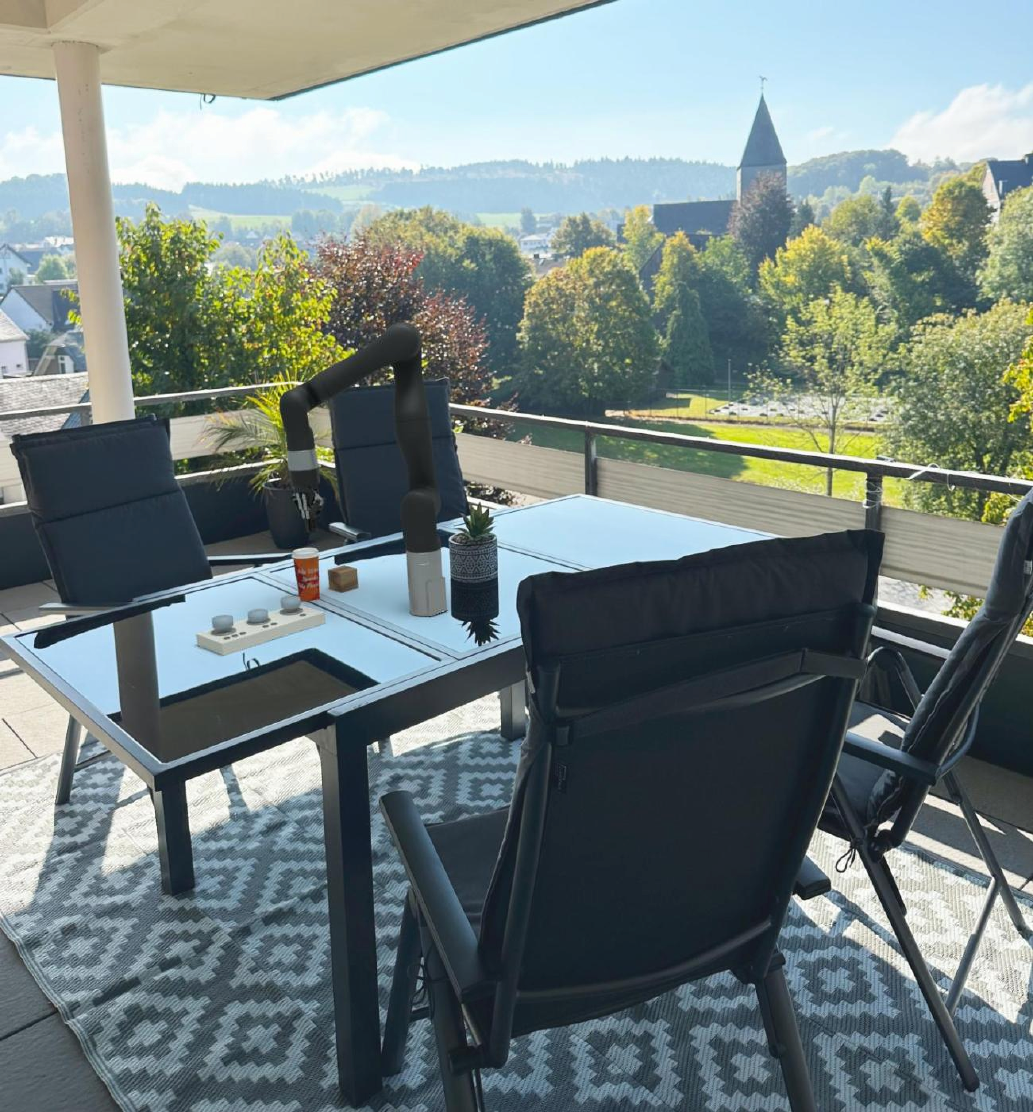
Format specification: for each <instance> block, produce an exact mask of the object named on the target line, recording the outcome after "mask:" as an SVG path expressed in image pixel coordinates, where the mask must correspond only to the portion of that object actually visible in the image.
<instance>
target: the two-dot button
mask: <svg viewBox="0 0 1033 1112" xmlns="http://www.w3.org/2000/svg"><path fill="white" fill-rule="evenodd" d="M268 613H269V612H268V609H266V608H265V609H264V608H257V609H251V610H249V611H247V619H248V621H249V622H252V623H258V622H264V621H266V620H268Z"/></svg>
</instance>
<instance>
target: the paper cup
mask: <svg viewBox="0 0 1033 1112" xmlns="http://www.w3.org/2000/svg"><path fill="white" fill-rule="evenodd" d="M320 555H321V553H320V552H319V550H318V549H317V548H315V547H302V548H297V549H294V550H293V551H292V554H291V558H292V559H293V561H292V562H293V566H294V575H295V580H296V585H297V586H296V587H297V592H298V593H297V594H298V596H299V597H300V602H314V600H315V601H317V599H318V600H319V599H320V592H321V591H320V588H321V587H320V562H319V561H320V559H319V556H320Z"/></svg>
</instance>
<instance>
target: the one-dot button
mask: <svg viewBox="0 0 1033 1112" xmlns="http://www.w3.org/2000/svg"><path fill="white" fill-rule="evenodd" d="M279 601H280V609H282V608H283V609H293V608H297V607H300V606H301V604H302V603H301V600H300V597H299V595H289V596H288V595H287V596H284V597H282V598H280V600H279Z"/></svg>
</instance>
